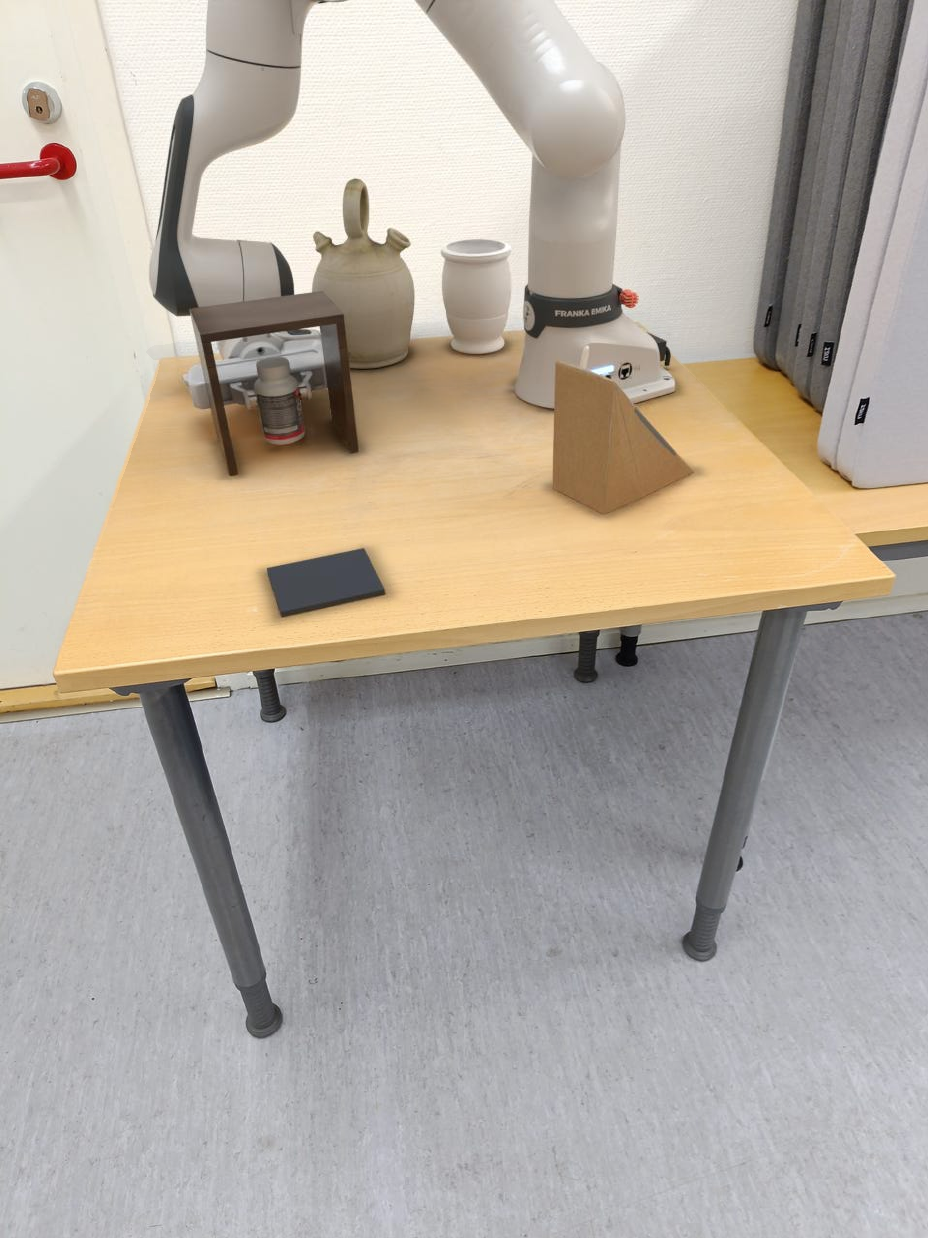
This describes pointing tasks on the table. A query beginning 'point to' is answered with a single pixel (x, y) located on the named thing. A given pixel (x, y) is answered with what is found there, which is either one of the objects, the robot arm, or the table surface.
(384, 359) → the jug
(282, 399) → the pill bottle
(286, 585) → the pad
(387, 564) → the table surface
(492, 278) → the jar
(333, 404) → the arch
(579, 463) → the sandwich container
